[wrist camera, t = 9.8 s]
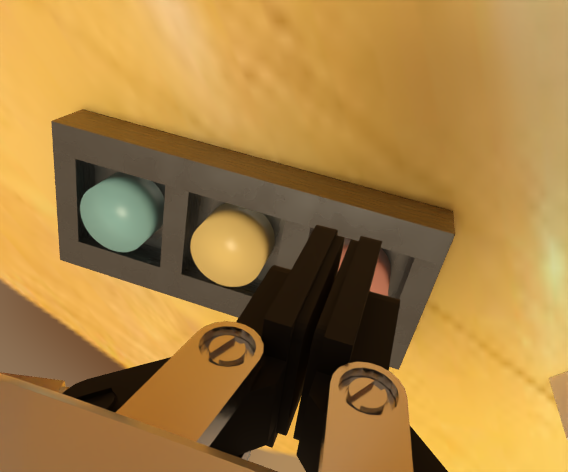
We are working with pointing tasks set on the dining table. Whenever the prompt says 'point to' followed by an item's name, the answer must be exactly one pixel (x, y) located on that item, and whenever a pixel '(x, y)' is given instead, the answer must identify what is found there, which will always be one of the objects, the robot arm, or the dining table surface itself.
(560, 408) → the white cube
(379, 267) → the brick button
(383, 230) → the button panel
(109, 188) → the teal button
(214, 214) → the mustard button
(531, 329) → the dining table surface
